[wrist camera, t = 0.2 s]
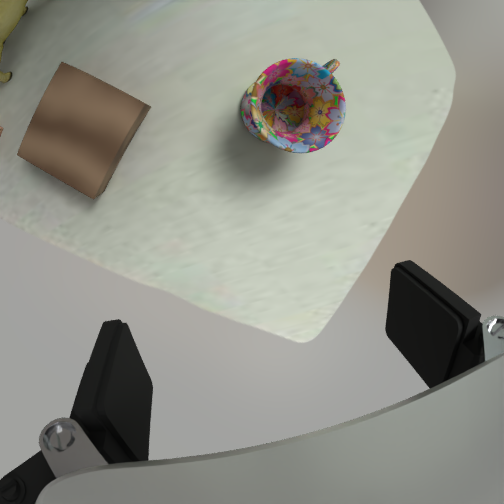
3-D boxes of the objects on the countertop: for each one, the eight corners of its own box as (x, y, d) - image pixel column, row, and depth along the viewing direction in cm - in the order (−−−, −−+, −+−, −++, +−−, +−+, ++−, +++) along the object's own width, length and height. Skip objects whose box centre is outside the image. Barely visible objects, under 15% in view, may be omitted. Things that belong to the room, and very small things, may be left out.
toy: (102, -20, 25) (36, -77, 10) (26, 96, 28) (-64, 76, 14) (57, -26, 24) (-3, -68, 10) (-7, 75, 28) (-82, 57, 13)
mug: (277, 161, 39) (304, 173, 30) (220, 113, 36) (229, 107, 26) (336, 95, 37) (378, 89, 27) (284, 46, 34) (313, 23, 24)
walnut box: (76, 68, 30) (61, 61, 26) (151, 106, 34) (145, 103, 30) (34, 150, 33) (16, 154, 28) (105, 190, 37) (93, 199, 33)
